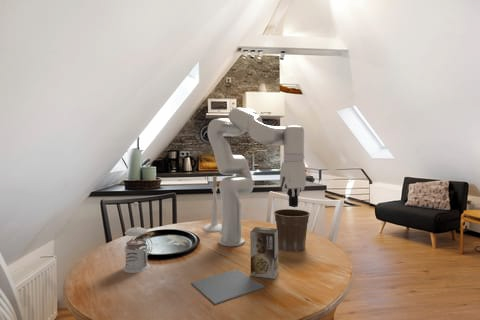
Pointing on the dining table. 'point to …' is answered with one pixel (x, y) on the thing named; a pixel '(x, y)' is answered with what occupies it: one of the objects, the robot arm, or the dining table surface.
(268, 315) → the dining table surface
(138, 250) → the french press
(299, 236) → the plant pot
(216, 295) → the mat
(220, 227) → the candlestick
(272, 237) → the coffee box
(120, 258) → the dining table surface
